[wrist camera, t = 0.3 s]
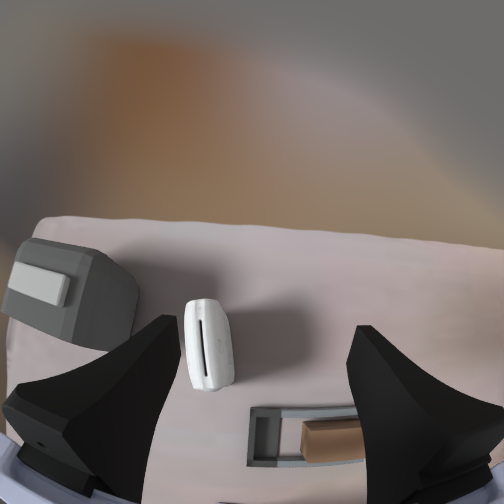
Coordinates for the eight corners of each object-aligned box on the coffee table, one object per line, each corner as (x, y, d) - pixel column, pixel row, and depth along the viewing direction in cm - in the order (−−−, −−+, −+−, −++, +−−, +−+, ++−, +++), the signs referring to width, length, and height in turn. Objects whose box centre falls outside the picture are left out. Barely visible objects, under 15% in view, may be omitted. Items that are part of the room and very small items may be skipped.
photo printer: (198, 314, 40) (176, 294, 28) (228, 311, 40) (218, 290, 28) (206, 387, 36) (185, 397, 24) (237, 384, 36) (230, 394, 25)
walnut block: (354, 446, 32) (369, 457, 27) (300, 450, 32) (307, 463, 27) (357, 418, 34) (373, 425, 28) (302, 421, 34) (310, 430, 29)
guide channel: (358, 457, 31) (363, 461, 29) (246, 461, 32) (246, 466, 30) (363, 405, 34) (368, 406, 33) (250, 407, 35) (250, 409, 33)
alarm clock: (52, 327, 38) (-13, 305, 24) (68, 264, 43) (13, 224, 28) (132, 355, 37) (73, 345, 23) (148, 281, 42) (101, 239, 27)
